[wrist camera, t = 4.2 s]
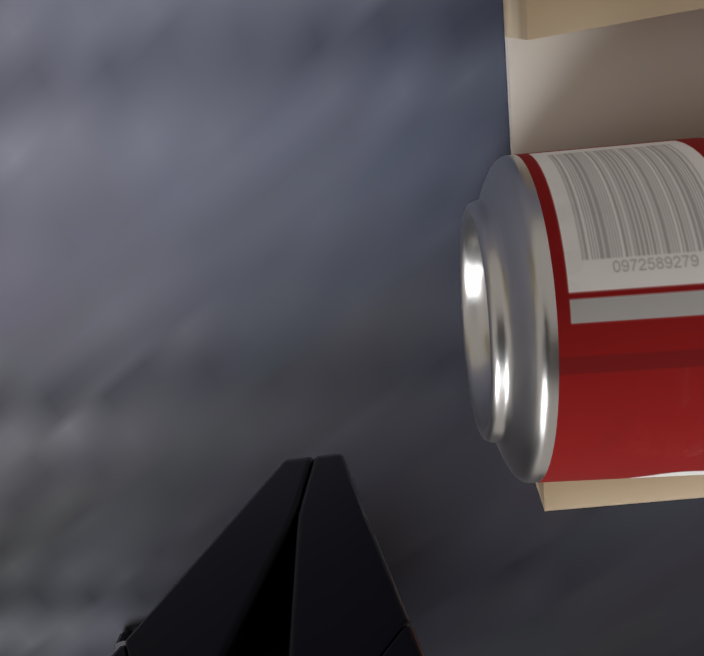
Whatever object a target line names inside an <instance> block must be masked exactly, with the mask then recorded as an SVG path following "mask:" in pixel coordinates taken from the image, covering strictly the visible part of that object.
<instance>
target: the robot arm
mask: <svg viewBox="0 0 704 656" xmlns="http://www.w3.org/2000/svg"><path fill="white" fill-rule="evenodd" d="M115 650H116V652H115V653H114V654H113V655H112V656H424V654H423V652H422V649H421V647H420V644H419V642H418V639H417V637H416V634H415V632H414V629H413V628H412V627H411V623H410V620H409V618H408V615H407V613H406V610H405V608H404V605H403V603H402V600H401V598H400V595H399V593H398V590H397V588H396V585H395V583H394V580H393V578H392V576H391V573H390V571H389V568H388V566H387V563H386V561H385V558H384V556H383V553H382V551H381V548H380V546H379V543H378V541H377V538H376V536H375V533H374V531H373V528H372V526H371V524H370V521H369V519H368V516H367V514H366V511H365V509H364V506H363V504H362V501H361V499H360V496H359V494H358V491H357V489H356V486H355V484H354V481H353V479H352V476H351V474H350V472H349V469H348V467H347V464H346V462H345V459H344V457H343V456H342V455H341V454H334V455H325V456H318V457H316V458H315V459H313V458H311V457H307V458H297V459H289V460H286V461H285V462H284V463H282V465H281V466H280V467H279V468H278V469H277V470H276V471H275V473H274V474H273V475H272V476H271V477H270V478H269V479H268V480H267V482H266V483H265V484H264V485H263V486H262V487H261V488H260V489H259V491H258V492H257V493H256V494H255V495H254V496H253V497H252V498H251V500H250V501H249V502H248V503H247V504H246V505H245V506H244V507H243V509H242V510H241V511H240V512H239V513H238V514H237V515H236V516H235V518H234V519H233V520H232V521H231V522H230V523H229V524H228V526H227V527H226V528H225V529H224V530H223V531H222V532H221V533H220V535H219V536H218V537H217V538H216V539H215V540H214V541H213V542H212V544H211V545H210V546H209V547H208V548H207V549H206V550H205V551H204V553H203V554H202V555H201V556H200V557H199V558H198V559H197V560H196V562H195V563H194V564H193V565H192V566H191V567H190V568H189V569H188V571H187V572H186V573H185V574H184V575H183V576H182V577H181V579H180V580H179V581H178V582H177V583H176V584H175V585H174V586H173V588H172V589H171V590H170V591H169V592H168V593H167V594H166V595H165V597H164V598H163V599H162V600H161V601H160V602H159V603H158V604H157V606H156V607H155V608H154V609H153V610H152V611H151V612H150V613H149V615H148V616H147V617H146V618H145V619H144V620H143V621H142V623H141V624H140V625H139V626H138V627H137V628H136V629H135V630H134V631H131V632H124V633H122V634H120V636H119V638H118V640H117V643H116V645H115Z"/></svg>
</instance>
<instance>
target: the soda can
mask: <svg viewBox="0 0 704 656" xmlns="http://www.w3.org/2000/svg"><path fill="white" fill-rule="evenodd" d="M459 278H460V306H461V322H462V335H463V346H464V356H465V365H466V373H467V381H468V387H469V394H470V399H471V405H472V410H473V414H474V418H475V422H476V425H477V428H478V431H479V433H480V435H481V436H482V438H483V439H484V440H485V441H487V442H493V443H496V445H497V447H498V449H499V451H500V453H501V455H502V457H503V459H504V461H505V463H506V465H507V466H508V468H509V469H510V471H511V472H512V473H513V475H514V476H515V477H516V478H517V479H519V480H520V481H522V482H524V483H540V482H561V481H582V480H603V479H624V478H645V477H666V476H687V475H704V137H698V138H688V139H677V140H666V141H655V142H644V143H633V144H622V145H611V146H600V147H589V148H578V149H568V150H557V151H546V152H535V153H524V154H513V155H505V156H502V157H500V158H498V159H497V160H496V161H495V162H494V163H493V165H492V166H491V168H490V169H489V172H488V174H487V176H486V178H485V181H484V184H483V186H482V189H481V192H480V196H479V198H478V200H475V201H472V202H470V203H469V204H467V206H466V208H465V210H464V213H463V217H462V223H461V232H460V253H459Z"/></svg>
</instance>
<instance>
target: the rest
mask: <svg viewBox="0 0 704 656" xmlns="http://www.w3.org/2000/svg"><path fill="white" fill-rule="evenodd" d="M503 11H504V31H505V50H506V69H507V89H508V108H509V128H510V147H511V155H513V154H524V153H535V152H546V151H557V150H568V149H578V148H589V147H600V146H611V145H622V144H633V143H644V142H655V141H666V140H677V139H688V138H698V137H704V0H503ZM536 485H537V489H538V492H539V495H540V498H541V501H542V504H543V507H544V511H552V510H564V509H575V508H587V507H598V506H610V505H621V504H633V503H644V502H656V501H667V500H679V499H690V498H702V497H704V475H687V476H666V477H645V478H624V479H603V480H582V481H561V482H540V483H536Z"/></svg>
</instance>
